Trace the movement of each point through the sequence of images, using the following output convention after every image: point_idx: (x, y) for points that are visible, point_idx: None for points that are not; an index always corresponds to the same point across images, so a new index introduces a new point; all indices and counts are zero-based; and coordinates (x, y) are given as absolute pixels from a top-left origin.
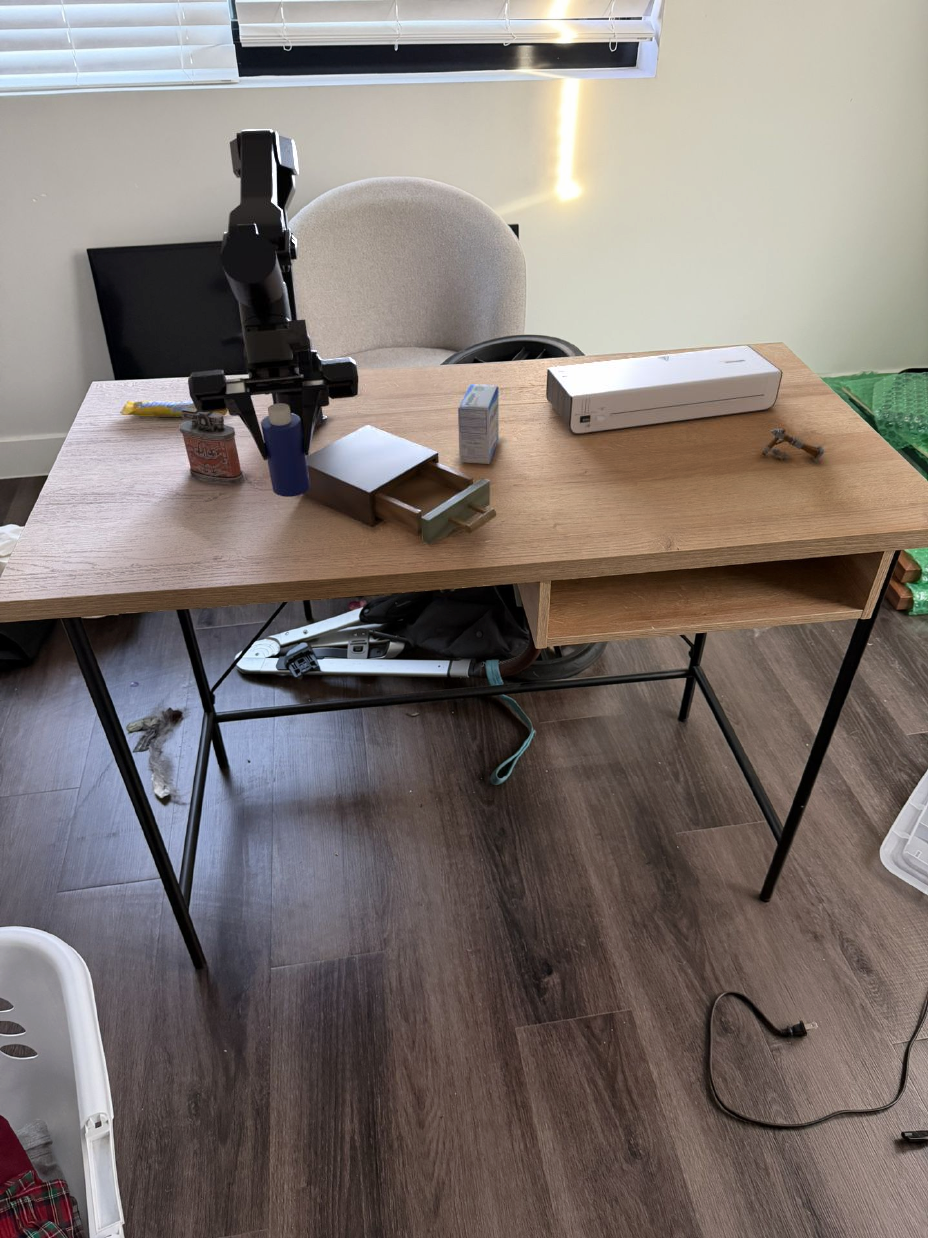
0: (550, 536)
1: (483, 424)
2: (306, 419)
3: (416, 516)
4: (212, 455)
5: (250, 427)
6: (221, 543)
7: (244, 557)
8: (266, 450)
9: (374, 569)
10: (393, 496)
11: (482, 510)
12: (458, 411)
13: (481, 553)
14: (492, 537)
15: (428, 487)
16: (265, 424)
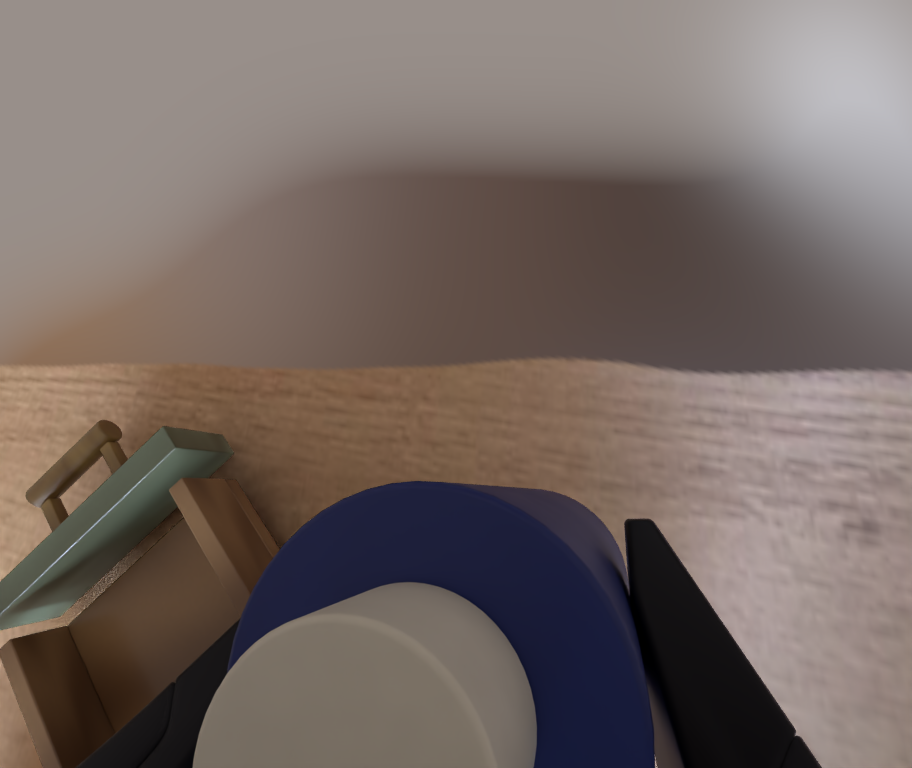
0: (3, 445)
1: None
2: (189, 714)
3: (192, 480)
4: None
5: (800, 757)
6: (862, 628)
7: (755, 513)
8: (625, 589)
9: (370, 380)
10: None
11: (52, 506)
12: None
13: (138, 406)
14: (99, 467)
15: None
16: (591, 674)
